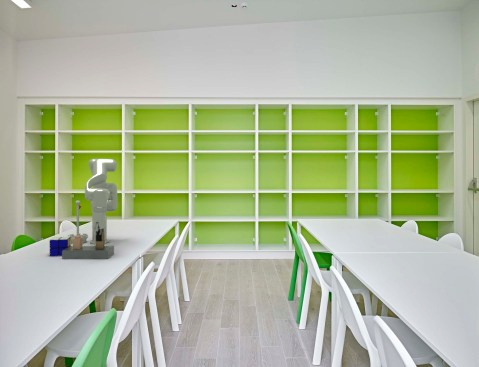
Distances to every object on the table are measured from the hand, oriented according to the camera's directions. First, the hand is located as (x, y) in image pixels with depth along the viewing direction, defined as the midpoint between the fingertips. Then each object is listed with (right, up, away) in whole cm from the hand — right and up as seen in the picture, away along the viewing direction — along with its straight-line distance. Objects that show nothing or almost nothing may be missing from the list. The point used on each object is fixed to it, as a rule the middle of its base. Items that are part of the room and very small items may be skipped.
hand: (100, 240), depth 211 cm
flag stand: (-31, -8, +39) cm, 51 cm away
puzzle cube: (-26, -10, +5) cm, 28 cm away
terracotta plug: (-13, -9, -1) cm, 16 cm away
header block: (-7, -10, 0) cm, 12 cm away
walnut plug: (0, -5, 0) cm, 5 cm away
